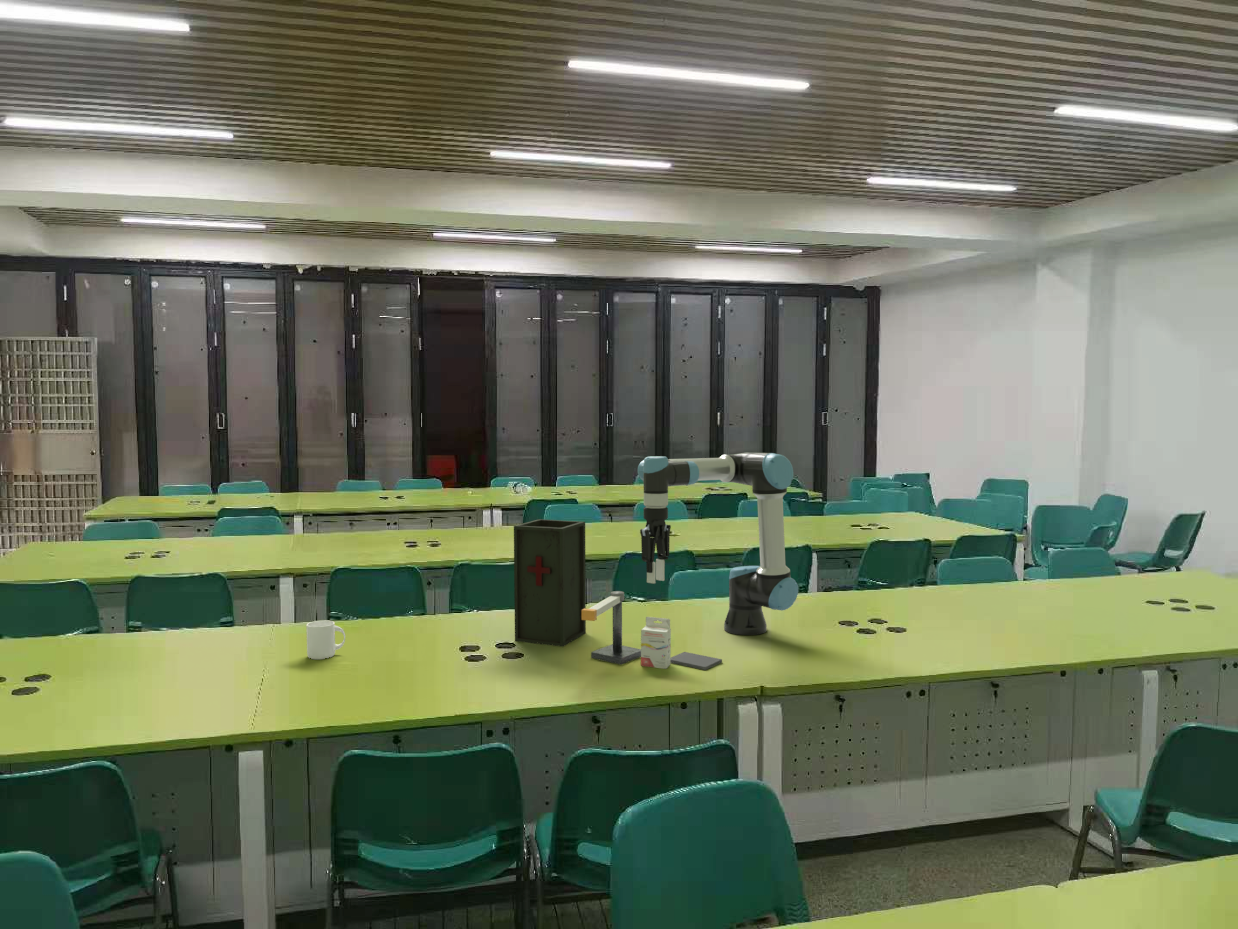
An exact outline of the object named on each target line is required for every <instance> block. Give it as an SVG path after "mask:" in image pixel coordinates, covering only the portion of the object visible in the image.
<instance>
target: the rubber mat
mask: <svg viewBox="0 0 1238 929" xmlns="http://www.w3.org/2000/svg"><path fill="white" fill-rule="evenodd" d="M721 663H723V659H722V658H717V657H712V656H707V655H704V654H703V655H702V654H698V653H697V654H696V653H693V652H687V651H683V652H681V653H678V654H675V655H674V656H670V664H673V665H674V664H675V665H679V666H683V667H689V668H693V669H698V670H703V671H708V670H709V669H711V668H714V667H715V666H718V665H719V664H721Z"/></svg>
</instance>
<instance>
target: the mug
mask: <svg viewBox="0 0 1238 929" xmlns="http://www.w3.org/2000/svg"><path fill="white" fill-rule="evenodd" d="M335 624H336V623H335V621H333V620H328V619H326V620H325V619H321V620H314V621H310V622H308V623H307V624H305V626H306V655H307V657H308V658H309V659H310V658H311V660H325V658H327V659H329V657H330V658H333V657H334V656H335V654H336V651H337V650H339V649H341V648H342V647H343V646H344V644H345V642H346V632H345V631H344V629H343V628H341V627H340V626H338V625H335ZM336 632H340V633H341V634H342V635H343V640H342V642H341V643H339V644H337V643H336Z"/></svg>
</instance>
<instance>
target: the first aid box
mask: <svg viewBox="0 0 1238 929" xmlns="http://www.w3.org/2000/svg"><path fill="white" fill-rule="evenodd" d="M513 576H514V577H513V587H514V588H513V589H514V590H513V592H514V593H513V595H514V599H513V600H514V642H519V643H528V644H536V645H542V646H543V645H544V646H553V647H562V648H564V647H565V646H567V645H569V644H570V643H572V642H573V641H575V640H577V639H578V638H580V637H582V636H584V635H585V634H587V631H586V630H587V627H586V625H587V622H586V621H587V620H582V609H584V608H585V609H587V608H586V607H587V605H586V604H587V603H586V602H587V601H586V592H587V591H586V586H587V584H586V579H587V578H586V521H579V520H578V521H577V520H576V521H575V520H561V519H560V520H557V519H556V520H555V519H541V518H540V519H539V518H538V519H536V520H535V519H534V520H531V521H528V522H524V523H520V524H516V525H513Z"/></svg>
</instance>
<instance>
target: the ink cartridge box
mask: <svg viewBox="0 0 1238 929" xmlns="http://www.w3.org/2000/svg"><path fill="white" fill-rule="evenodd" d="M657 621H658V622H657ZM659 622H660V623H659ZM640 631H641V632H640V634H641V635H640V649H641V657H640V666H641V667H647V668H656V669H657V668H658V669H664V670H666V669H668V668H669V667H670V665H671V663H670V658H671V648H672V647H671V645H672V642H671V640H672V638H671V637H672V633H671V632H672V628H671V619H670V618H667V617H666V618H665V617H664V618H663V617H654V616H646V617H645V626H644V627H643V628H641V630H640Z"/></svg>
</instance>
